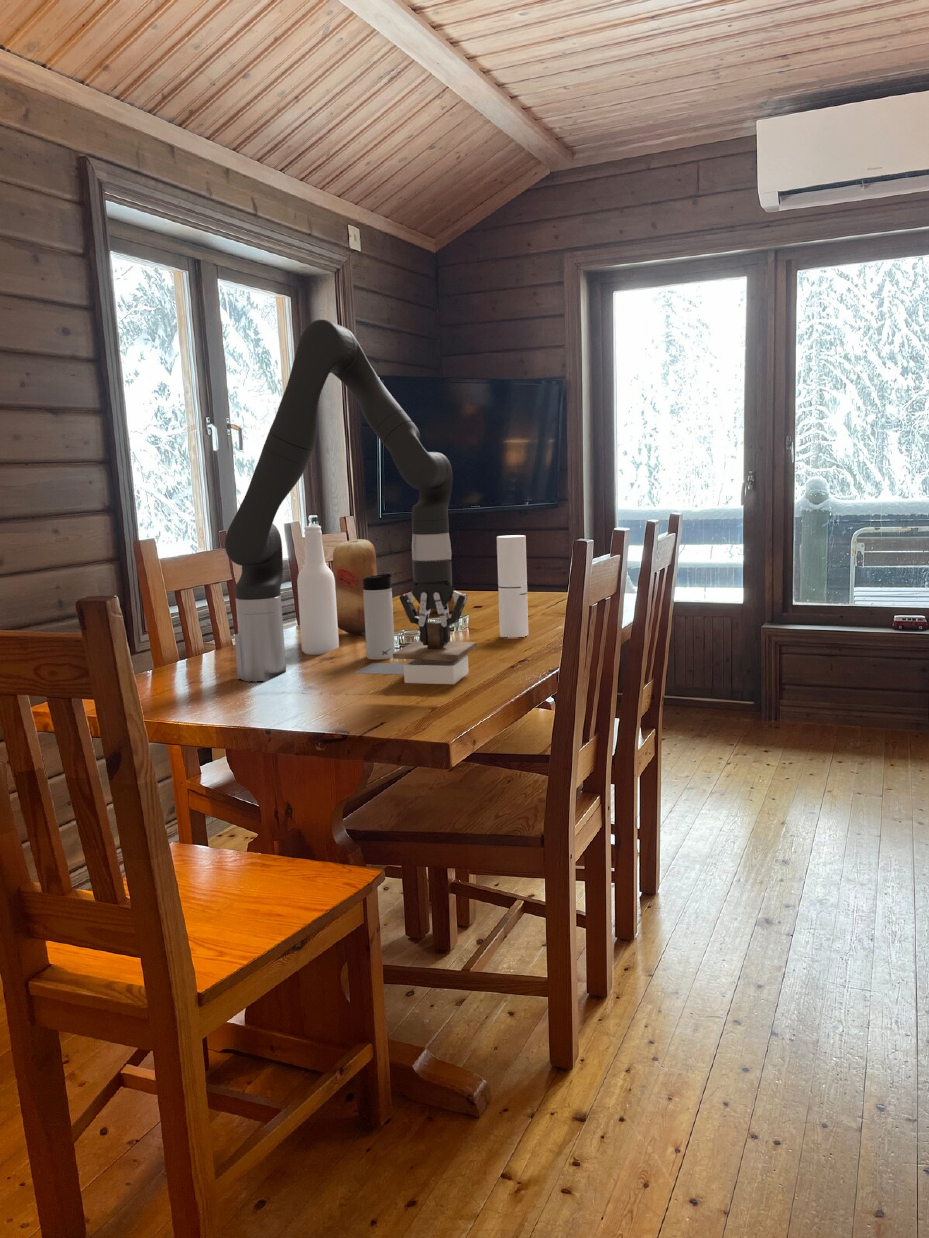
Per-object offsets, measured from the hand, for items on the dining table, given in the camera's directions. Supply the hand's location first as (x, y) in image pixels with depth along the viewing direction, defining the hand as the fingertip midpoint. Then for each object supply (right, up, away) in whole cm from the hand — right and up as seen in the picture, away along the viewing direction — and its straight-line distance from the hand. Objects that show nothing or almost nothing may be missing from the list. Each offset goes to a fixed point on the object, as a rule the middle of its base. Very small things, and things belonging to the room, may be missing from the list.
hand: (435, 644), depth 181 cm
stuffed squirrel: (-2, +7, +97) cm, 97 cm away
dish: (0, -8, +1) cm, 8 cm away
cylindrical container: (+18, +1, +52) cm, 55 cm away
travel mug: (-13, -5, +25) cm, 28 cm away
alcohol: (-29, -3, +41) cm, 50 cm away
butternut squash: (-22, +1, +61) cm, 65 cm away
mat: (-9, -7, +11) cm, 16 cm away
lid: (0, -2, 0) cm, 2 cm away
